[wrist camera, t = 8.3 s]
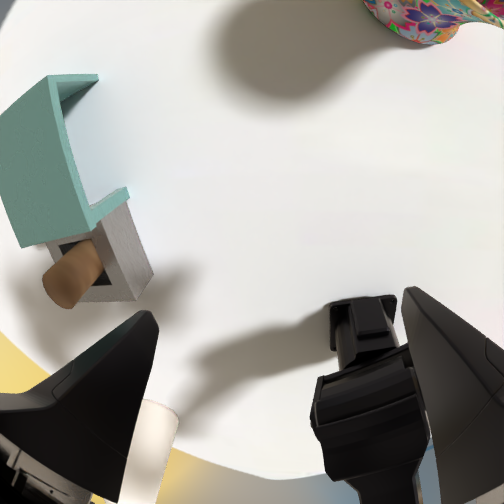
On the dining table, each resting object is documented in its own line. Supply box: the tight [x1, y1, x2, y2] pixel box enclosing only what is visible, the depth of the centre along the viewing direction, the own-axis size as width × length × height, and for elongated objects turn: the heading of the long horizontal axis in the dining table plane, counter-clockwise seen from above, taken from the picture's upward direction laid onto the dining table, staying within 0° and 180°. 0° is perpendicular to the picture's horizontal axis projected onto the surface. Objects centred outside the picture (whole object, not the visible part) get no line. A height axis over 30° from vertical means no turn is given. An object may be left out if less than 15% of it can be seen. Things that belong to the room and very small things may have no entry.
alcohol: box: [104, 399, 179, 504], centre depth 29 cm, size 9×9×30 cm
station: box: [0, 74, 154, 302], centre depth 20 cm, size 19×10×6 cm, turn 11°
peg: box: [42, 238, 105, 309], centre depth 21 cm, size 4×4×8 cm
